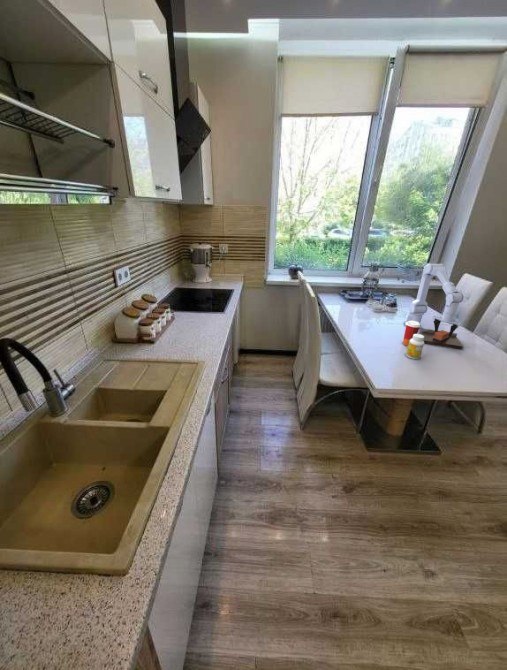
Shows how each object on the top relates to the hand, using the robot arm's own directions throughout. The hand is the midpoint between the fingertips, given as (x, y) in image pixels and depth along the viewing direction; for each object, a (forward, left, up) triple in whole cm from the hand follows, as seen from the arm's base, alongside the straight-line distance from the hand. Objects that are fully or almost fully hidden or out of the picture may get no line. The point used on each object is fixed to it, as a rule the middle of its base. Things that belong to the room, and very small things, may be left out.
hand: (442, 333), depth 168 cm
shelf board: (0, +2, -6) cm, 6 cm away
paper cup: (-19, -11, -6) cm, 23 cm away
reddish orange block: (0, 0, -4) cm, 4 cm away
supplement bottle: (-18, -27, -6) cm, 33 cm away
